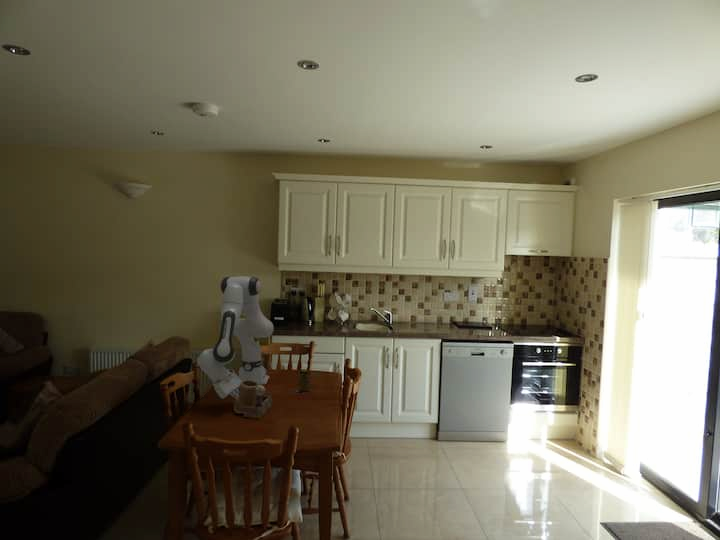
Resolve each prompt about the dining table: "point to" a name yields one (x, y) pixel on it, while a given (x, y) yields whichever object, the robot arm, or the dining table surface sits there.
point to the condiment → (303, 381)
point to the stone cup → (246, 395)
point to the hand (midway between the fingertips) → (239, 398)
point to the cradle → (262, 401)
